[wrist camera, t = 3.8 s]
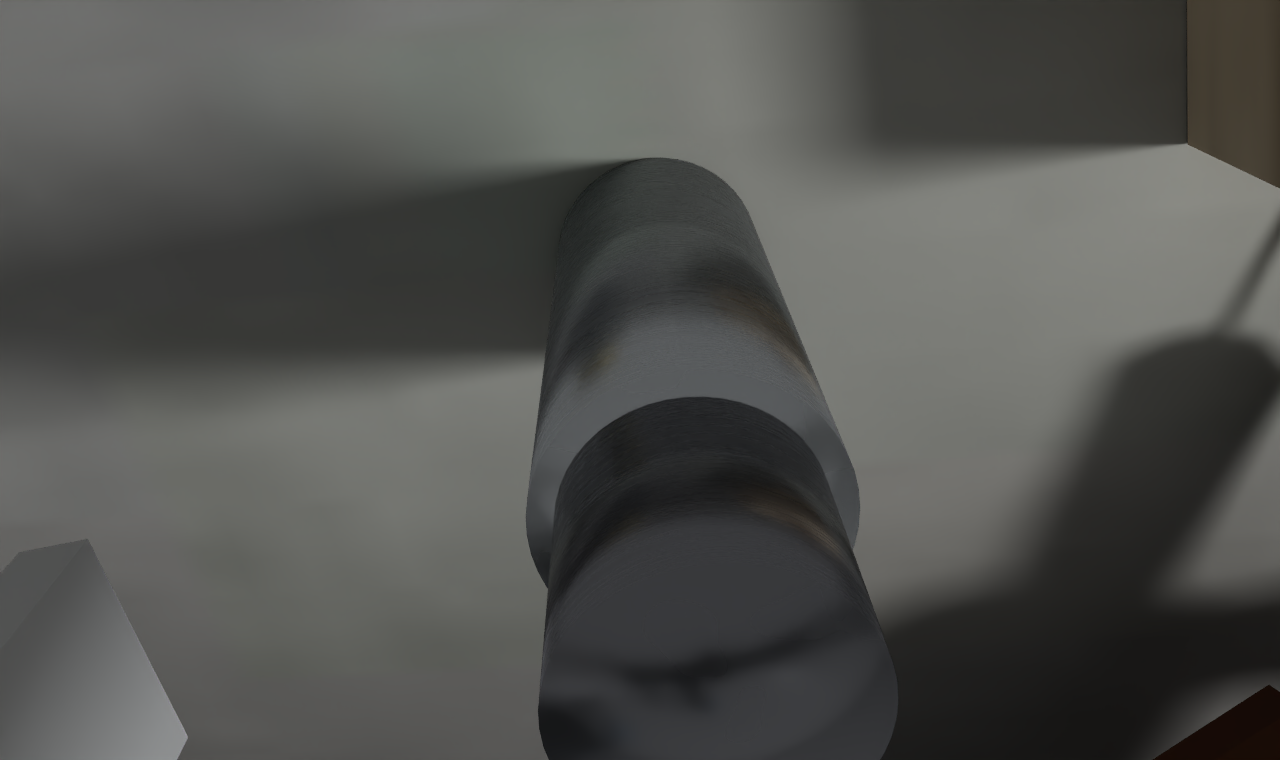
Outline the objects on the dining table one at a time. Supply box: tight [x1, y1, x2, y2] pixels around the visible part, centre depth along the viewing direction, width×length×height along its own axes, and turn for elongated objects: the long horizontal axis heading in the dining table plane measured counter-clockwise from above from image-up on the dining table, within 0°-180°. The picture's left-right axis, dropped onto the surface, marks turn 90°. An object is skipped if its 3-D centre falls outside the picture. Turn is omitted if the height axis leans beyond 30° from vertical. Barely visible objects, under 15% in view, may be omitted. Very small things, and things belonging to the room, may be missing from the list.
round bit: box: [526, 158, 899, 760], centre depth 15 cm, size 4×4×12 cm
